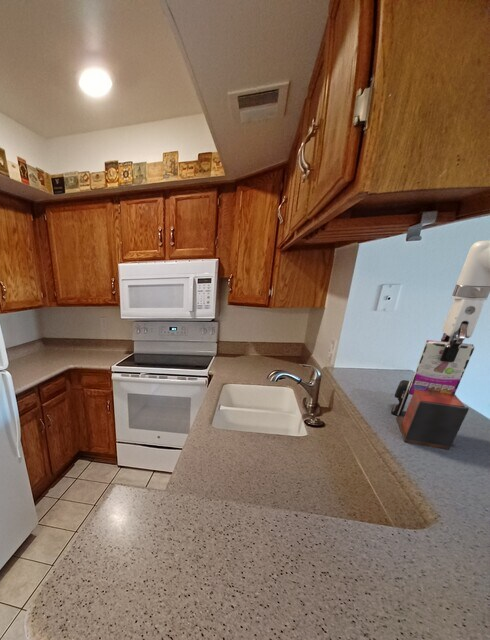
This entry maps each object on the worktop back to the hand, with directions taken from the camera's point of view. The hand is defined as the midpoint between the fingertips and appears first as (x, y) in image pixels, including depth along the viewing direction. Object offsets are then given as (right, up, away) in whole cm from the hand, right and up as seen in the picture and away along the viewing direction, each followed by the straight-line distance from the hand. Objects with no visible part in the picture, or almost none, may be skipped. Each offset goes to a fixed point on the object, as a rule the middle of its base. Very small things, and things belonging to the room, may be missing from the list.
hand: (444, 358), depth 97 cm
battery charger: (-1, -15, +20) cm, 25 cm away
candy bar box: (0, -11, +6) cm, 12 cm away
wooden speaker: (-2, -22, +6) cm, 23 cm away
